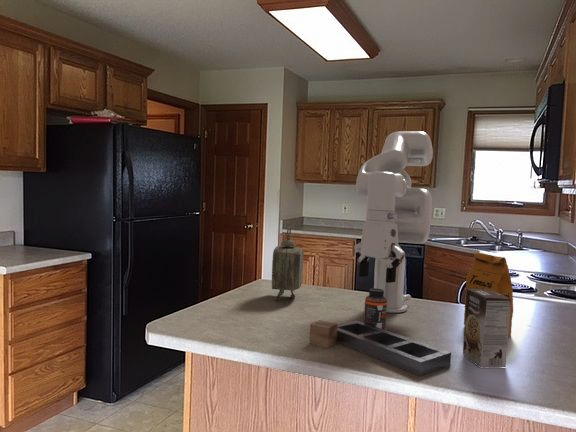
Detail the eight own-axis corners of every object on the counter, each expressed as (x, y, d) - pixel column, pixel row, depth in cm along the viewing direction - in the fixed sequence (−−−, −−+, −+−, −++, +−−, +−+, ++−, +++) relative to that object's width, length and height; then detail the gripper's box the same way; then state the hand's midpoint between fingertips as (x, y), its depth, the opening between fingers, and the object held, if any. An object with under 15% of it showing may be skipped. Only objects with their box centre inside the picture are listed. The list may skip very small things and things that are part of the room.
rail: (326, 337, 122) (327, 326, 122) (356, 331, 129) (357, 320, 129) (420, 376, 99) (420, 362, 99) (450, 365, 106) (451, 352, 106)
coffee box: (461, 354, 114) (465, 288, 113) (486, 354, 115) (491, 288, 114) (479, 368, 105) (484, 297, 104) (507, 368, 106) (512, 297, 105)
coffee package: (487, 339, 126) (493, 258, 125) (458, 326, 138) (463, 251, 137) (518, 337, 129) (523, 258, 128) (486, 324, 141) (491, 251, 139)
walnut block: (319, 338, 121) (320, 319, 121) (336, 343, 119) (337, 323, 118) (309, 344, 117) (310, 324, 117) (327, 348, 115) (328, 328, 114)
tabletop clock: (277, 292, 172) (280, 224, 170) (302, 294, 170) (305, 225, 169) (270, 302, 157) (273, 227, 156) (297, 304, 156) (300, 229, 155)
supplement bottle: (385, 334, 128) (387, 292, 127) (363, 331, 129) (365, 290, 128) (385, 327, 133) (387, 288, 133) (364, 325, 135) (366, 286, 134)
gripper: (414, 219, 124) (411, 283, 125) (366, 215, 138) (362, 273, 139) (396, 219, 120) (392, 285, 120) (347, 215, 133) (344, 275, 134)
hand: (376, 279), depth 130 cm, fingers open, 9 cm apart
